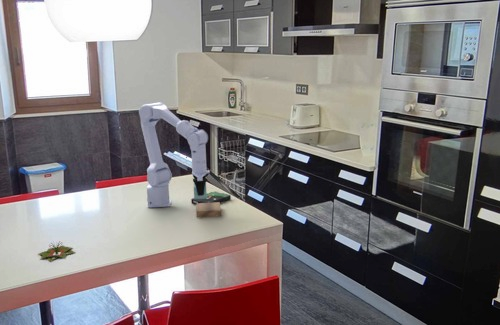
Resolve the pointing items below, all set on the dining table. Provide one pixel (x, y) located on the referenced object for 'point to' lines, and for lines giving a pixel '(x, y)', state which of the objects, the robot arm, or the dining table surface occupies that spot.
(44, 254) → the lily flower
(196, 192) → the teal cube
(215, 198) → the disk drive
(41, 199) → the dining table surface
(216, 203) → the brown block
